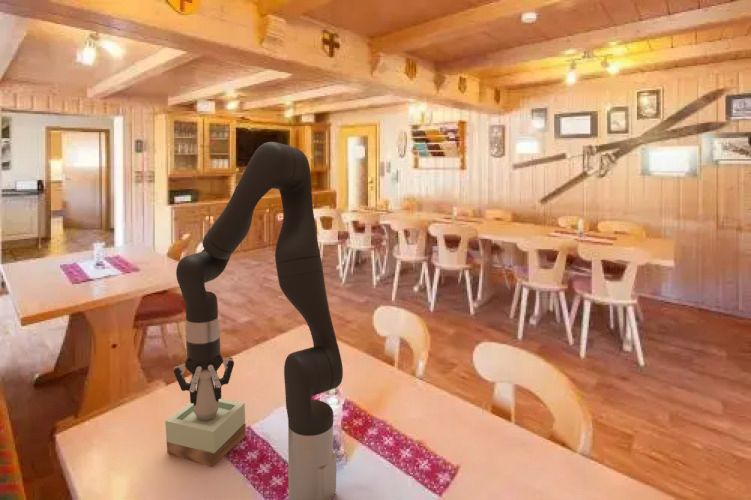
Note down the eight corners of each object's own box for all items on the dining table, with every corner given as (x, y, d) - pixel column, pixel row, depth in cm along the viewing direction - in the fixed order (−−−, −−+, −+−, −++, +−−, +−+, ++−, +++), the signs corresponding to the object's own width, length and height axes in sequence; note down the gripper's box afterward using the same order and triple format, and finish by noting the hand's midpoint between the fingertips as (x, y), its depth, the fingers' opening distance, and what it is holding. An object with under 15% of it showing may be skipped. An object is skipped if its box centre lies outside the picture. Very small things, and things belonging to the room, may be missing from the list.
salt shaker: (210, 424, 110) (208, 373, 108) (189, 421, 111) (186, 371, 109) (223, 412, 116) (221, 363, 113) (202, 409, 117) (200, 360, 114)
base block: (245, 438, 119) (245, 424, 118) (210, 469, 107) (210, 453, 106) (205, 425, 123) (204, 412, 123) (167, 454, 112) (166, 439, 111)
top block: (245, 422, 119) (244, 403, 117) (214, 453, 106) (213, 431, 105) (201, 413, 122) (200, 394, 121) (166, 441, 110) (165, 420, 109)
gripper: (232, 326, 116) (234, 390, 119) (170, 333, 110) (174, 399, 113) (236, 338, 109) (238, 404, 112) (169, 346, 103) (174, 415, 107)
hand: (205, 401), depth 113 cm, fingers open, 4 cm apart
